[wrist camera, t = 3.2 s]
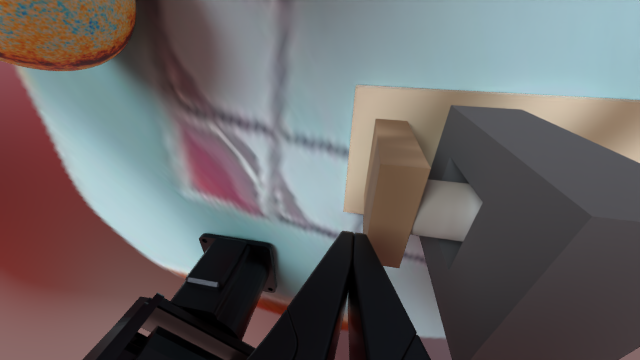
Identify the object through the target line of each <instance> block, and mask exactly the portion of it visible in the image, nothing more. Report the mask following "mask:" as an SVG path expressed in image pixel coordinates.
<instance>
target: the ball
mask: <svg viewBox="0 0 640 360" xmlns="http://www.w3.org/2000/svg"><path fill="white" fill-rule="evenodd" d="M135 20H136V3H135V0H0V61H4V62H7V63H10V64H14V65H18V66H23V67H27V68H33V69H39V70H48V71H74V70H82V69H87V68H91V67H95V66H98V65H100V64H103V63H105V62H107V61H109V60H110V59H112V58H113V57H115V56H116V55H117V54H118V53H120V52H121V51H122V49H123V48H124V47H125V46H126V44H127V43H128V41H129V39H130V37H131V35H132V33H133V30H134V26H135Z"/></svg>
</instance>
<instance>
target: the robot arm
mask: <svg viewBox="0 0 640 360" xmlns="http://www.w3.org/2000/svg"><path fill="white" fill-rule="evenodd" d="M199 241H200V243H201V246H202V249H203V252H204V254H203V256H202V257H201V258H200V260H199V261H198V262H197V264H196V265H195V266H194V268H193V269H192V270H191V271H190V273H189V274H188V275H187V277H186V279H185V280H186V281H185V282H184V284H183V285H182V286H181V287H180V289H179V290H178V291H177V293H176V294H175V295H174V297H173V298H172V299H171V301H168V300H167V299H165V298H164V296H163V295H161V294H159V293H157V294H156V295H155V296H154V297H153V298H146V297H139V299H138V300H137V301H136V302H135V303H134V304H133V305H132V307H131V308H130V309H129V310H128V311H127V312H126V313H125V314H124V316H123V317H122V318H121V319H120V320H119V321H118V323H116V325H115V326H114V327H113V328H112V329H111V330H110V331H109V332H108V333H107V334H106V335H105V336H104V337H103V338H102V339H101V340H100V342H99V343H98V344H97V345H96V346H95V347H94V348H93V349H92V350H91V351H90V352H89V353H88V354H87V355H86V356H85V358H84V359H83V360H334V359H335V354H336V349H337V344H338V340H339V335H340V330H341V326H342V321H343V316H344V311H345V307H346V302H347V296H348V329H349V360H431V359H430V357H429V355H428V354H427V351H426V349H425V347H424V346H423V343H422V342H421V340H420V338H419V336H418V335H416V333H417V332H416V330H415V328H414V326H413V324H412V322H411V320H410V318H409V316H408V314H407V312H406V311H405V309H404V307H403V305H402V303H401V301H400V299H399V297H398V295H397V293H396V291H395V289H394V287H393V285H392V283H391V281H390V279H389V277H388V275H387V273H386V271H385V269H384V268H383V266H382V264H381V262H380V260H379V258H378V256H377V254H376V252H375V250H374V248H373V246H372V244H371V242H370V240H369V238H368V236H367V235H366V234H363V233H355V234H354V233H353V232H348V231H342V232H341V233H340V234H339V236H338V237H337V239H336V240H335V241H334V243H333V244H332V246H331V247H330V248H329V250H328V251H327V253H326V254H325V255H324V257H323V258H322V260H321V261H320V262H319V264H318V265H317V267H316V268H315V270H314V271H313V272H312V274H311V275H310V277H309V278H308V279H307V281H306V282H305V284H304V285H303V286H302V288H301V289H300V291H299V292H298V293H297V295H296V296H295V298H294V299H293V300H292V302H291V303H290V305H289V306H288V307H287V310H285V311H284V313H283V314H282V316H281V317H280V318H279V320H278V321H277V323H276V324H275V325H274V326H273V328H272V329H271V330H270V332H269V333H268V334H267V336H266V337H265V338H264V340H263V341H262V342H261V343H260V344H259V346H258V347H257V348H254V347H252V346H250V345H249V344H247V343H245V342H243V341H242V339H243V337H244V334H245V332H246V329H247V327H248V325H249V322H250V320H251V317H252V315H253V312H254V310H255V308H256V305H257V303H258V301H259V298H260V296H261V293H262V291H266V292H272V293H273V292H275V291H276V288H277V284H276V277H275V269H274V261H273V253H272V247H271V245H270V244H268V243H264V242H258V241H251V240H245V239H238V238H232V237H225V236H219V235H213V234H206V233H204V234H202V235H201V237H200V238H199ZM140 328H143V329H145V330H147V331H149V332H151V334H150V335H149V336H148V337H146V336H144V335H142V334H140V333H138V330H139V329H140Z"/></svg>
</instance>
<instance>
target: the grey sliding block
mask: <svg viewBox="0 0 640 360" xmlns="http://www.w3.org/2000/svg"><path fill="white" fill-rule="evenodd" d="M428 179H429V180H439V181H448V182H458V183H467V184H470V185H471V186H472V188H473V189H474V191H475V192H476V194H477V195H478V196H479V198H480V199H481V201H482V202H483V203H482V205H481V207H480V209H479V211H478V213H477V215H476V217H475V219H474V221H473V223H472V225H471V227H470V229H469V231H468V233H467V235H466V237H465V239H464V241H455V240H448V239H441V238H434V237H426V236H419V237H420V240H421V244H422V248H423V252H424V255H425V259H426V263H427V267H428V271H429V274H430V278H431V282H432V286H433V289H434V293H435V297H436V301H437V305H438V308H439V312H440V316H441V320H442V323H443V327H444V331H445V335H446V339H447V342H448V346H449V350H450V354H451V357H452V360H619V359H621V358H622V357H624V356H625V355H627V354H629V353H630V352H632V351H634V350H635V349H637V348H639V347H640V163H638V162H636V161H634V160H632V159H630V158H627V157H625V156H623V155H621V154H619V153H616V152H614V151H612V150H610V149H608V148H605V147H603V146H601V145H599V144H597V143H594V142H592V141H590V140H588V139H586V138H583V137H581V136H579V135H577V134H575V133H572V132H570V131H568V130H566V129H564V128H561V127H559V126H557V125H555V124H553V123H550V122H548V121H546V120H544V119H542V118H539V117H537V116H535V115H533V114H531V113H528V112H526V111H524V110H522V109H506V108H490V107H474V106H458V105H451V107H450V110H449V113H448V116H447V119H446V122H445V125H444V129H443V132H442V135H441V138H440V141H439V144H438V147H437V151H436V154H435V157H434V160H433V163H432V166H431V170H430V173H429V176H428Z"/></svg>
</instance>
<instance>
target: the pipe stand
mask: <svg viewBox="0 0 640 360" xmlns="http://www.w3.org/2000/svg"><path fill="white" fill-rule="evenodd" d="M451 105H458V106H474V107H490V108H506V109H522V110H524V111H526V112H528V113H531V114H533V115H535V116H537V117H539V118H542V119H544V120H546V121H548V122H550V123H553V124H555V125H557V126H559V127H561V128H564V129H566V130H568V131H570V132H572V133H575V134H577V135H579V136H581V137H583V138H586V139H588V140H590V141H592V142H594V143H597V144H599V145H601V146H603V147H605V148H608V149H610V150H612V151H614V152H616V153H619V154H621V155H623V156H625V157H627V158H630V159H632V160H634V161H636V162H638V163H640V100H629V99H611V98H592V97H573V96H554V95H536V94H517V93H498V92H480V91H461V90H442V89H423V88H405V87H386V86H367V85H356V88H355V99H354V109H353V119H352V129H351V139H350V149H349V160H348V170H347V180H346V190H345V200H344V210H343V212H350V213H358V214H363V234H366V235H367V236H368V238H369V240H370V242H371V244H372V246H373V248H374V250H375V252H376V254H377V256H378V258H379V260H380V262H381V264H382V266H388V267H395V268H399V267H400V264H401V261H402V258H403V254H404V251H405V248H406V245H407V242H408V239H409V236H410V234H412V235H419V236H426V237H434V238H441V239H448V240H455V241H464V239H465V237H466V235H467V233H468V231H469V229H470V227H471V225H472V223H473V221H474V219H475V217H476V215H477V213H478V211H479V209H480V207H481V205H482V203H483V202H482V201H481V199H480V198H479V196H478V195H477V194H476V192H475V191H474V189H473V188H472V186H471V185H470V184H467V183H458V182H448V181H439V180H429V179H428V176H429V173H430V170H431V166H432V163H433V160H434V157H435V154H436V151H437V147H438V144H439V141H440V138H441V135H442V132H443V129H444V125H445V122H446V119H447V116H448V113H449V110H450V107H451Z"/></svg>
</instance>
